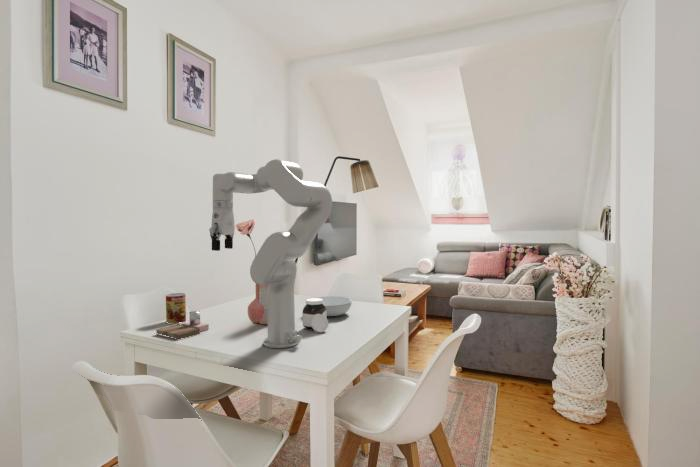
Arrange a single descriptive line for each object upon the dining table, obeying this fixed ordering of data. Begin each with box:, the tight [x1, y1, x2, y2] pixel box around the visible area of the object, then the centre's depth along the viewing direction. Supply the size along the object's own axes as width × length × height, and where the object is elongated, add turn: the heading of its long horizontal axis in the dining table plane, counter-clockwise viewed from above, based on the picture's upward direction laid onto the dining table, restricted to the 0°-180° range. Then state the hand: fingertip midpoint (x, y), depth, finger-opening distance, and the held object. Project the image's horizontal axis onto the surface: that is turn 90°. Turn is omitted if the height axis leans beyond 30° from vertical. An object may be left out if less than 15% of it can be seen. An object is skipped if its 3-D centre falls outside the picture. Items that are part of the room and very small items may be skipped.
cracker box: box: [258, 284, 270, 326], centre depth 169 cm, size 14×6×21 cm, turn 164°
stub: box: [181, 310, 210, 333], centre depth 157 cm, size 10×5×7 cm, turn 58°
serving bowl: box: [314, 295, 352, 317], centre depth 180 cm, size 21×21×7 cm
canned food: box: [165, 292, 187, 324], centre depth 171 cm, size 8×8×12 cm
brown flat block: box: [155, 323, 201, 340], centre depth 151 cm, size 14×9×2 cm, turn 58°
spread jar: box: [301, 297, 329, 333], centre depth 155 cm, size 12×11×12 cm
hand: (222, 249), depth 152 cm, fingers open, 9 cm apart
